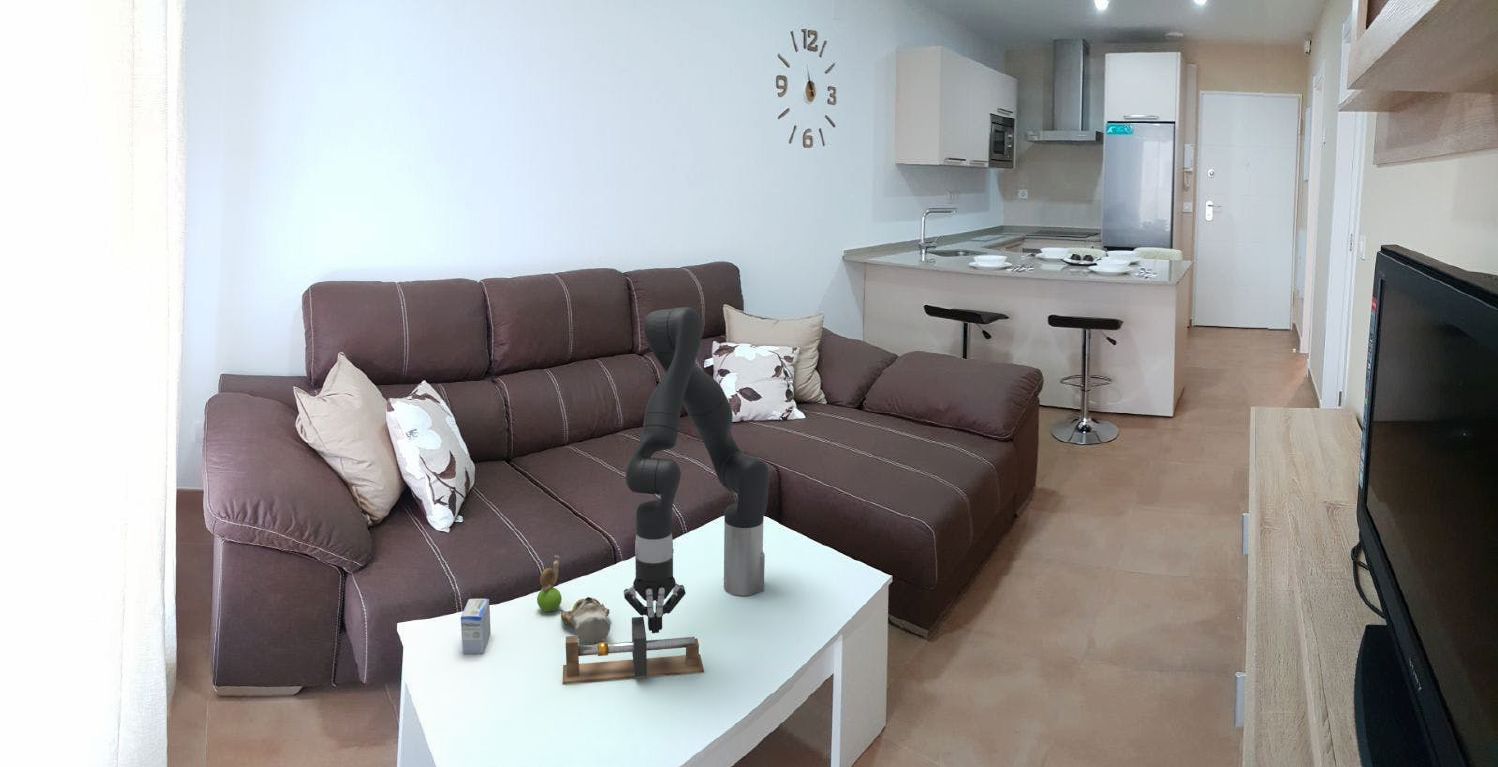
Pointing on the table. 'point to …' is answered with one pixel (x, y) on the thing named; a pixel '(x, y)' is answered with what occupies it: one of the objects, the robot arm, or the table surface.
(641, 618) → the dark grey frame
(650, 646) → the pipe
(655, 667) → the stand
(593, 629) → the ceramic sculpture
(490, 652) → the table surface
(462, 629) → the medicine box
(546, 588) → the snail figurine
